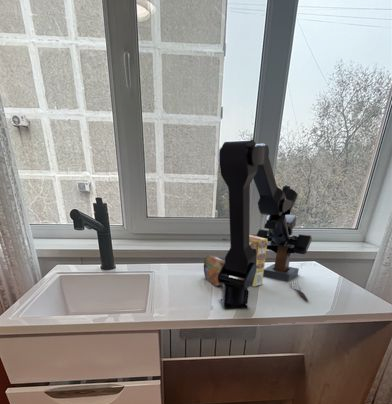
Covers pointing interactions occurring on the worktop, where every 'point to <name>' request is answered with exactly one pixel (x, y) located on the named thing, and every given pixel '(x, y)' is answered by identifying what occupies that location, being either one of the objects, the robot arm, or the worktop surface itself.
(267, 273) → the base pad
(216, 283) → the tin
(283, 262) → the walnut post
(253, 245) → the candy box
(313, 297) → the worktop surface
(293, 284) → the fork
